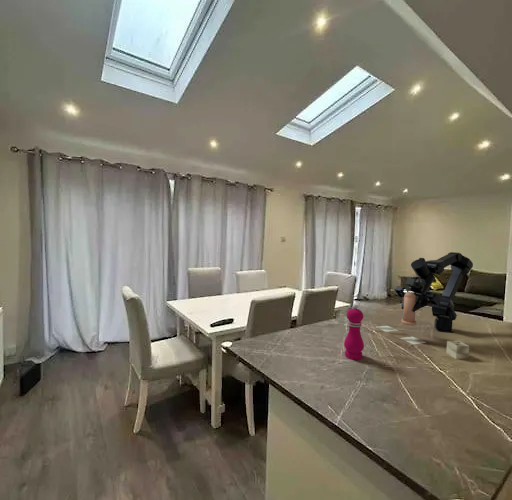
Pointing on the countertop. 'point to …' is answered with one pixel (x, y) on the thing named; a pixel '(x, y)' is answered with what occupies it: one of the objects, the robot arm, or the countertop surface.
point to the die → (457, 350)
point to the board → (401, 335)
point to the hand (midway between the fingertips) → (407, 310)
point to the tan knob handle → (409, 309)
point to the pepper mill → (354, 334)
